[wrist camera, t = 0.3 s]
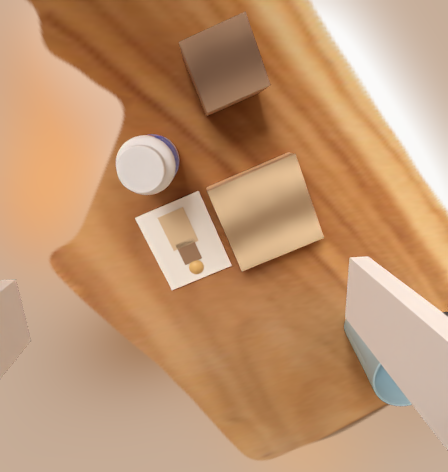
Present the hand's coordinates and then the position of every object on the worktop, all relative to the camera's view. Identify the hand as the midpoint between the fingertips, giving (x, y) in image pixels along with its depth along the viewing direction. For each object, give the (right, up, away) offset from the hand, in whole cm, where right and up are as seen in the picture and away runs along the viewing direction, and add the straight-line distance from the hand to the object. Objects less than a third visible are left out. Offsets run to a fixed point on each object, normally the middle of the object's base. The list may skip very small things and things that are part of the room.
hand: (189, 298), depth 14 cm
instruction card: (-3, +2, +27) cm, 27 cm away
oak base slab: (+6, +6, +26) cm, 28 cm away
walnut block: (+1, +19, +22) cm, 29 cm away
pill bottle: (-6, +11, +24) cm, 27 cm away
